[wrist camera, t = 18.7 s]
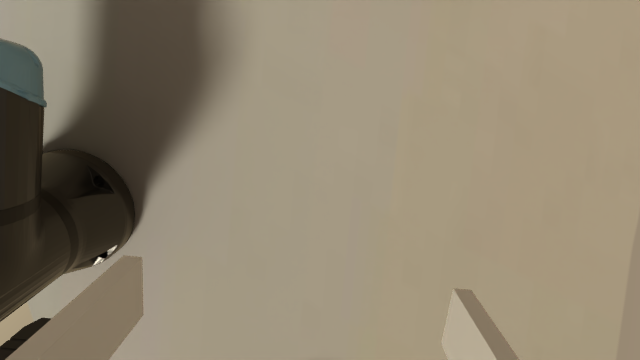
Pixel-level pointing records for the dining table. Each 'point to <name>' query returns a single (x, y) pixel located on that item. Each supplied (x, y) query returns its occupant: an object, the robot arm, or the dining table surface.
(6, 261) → the robot arm
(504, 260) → the dining table surface
